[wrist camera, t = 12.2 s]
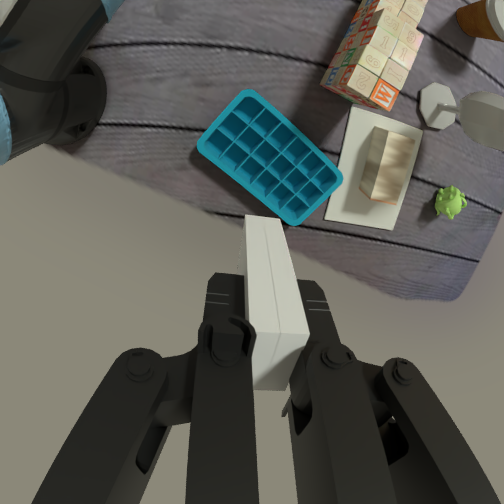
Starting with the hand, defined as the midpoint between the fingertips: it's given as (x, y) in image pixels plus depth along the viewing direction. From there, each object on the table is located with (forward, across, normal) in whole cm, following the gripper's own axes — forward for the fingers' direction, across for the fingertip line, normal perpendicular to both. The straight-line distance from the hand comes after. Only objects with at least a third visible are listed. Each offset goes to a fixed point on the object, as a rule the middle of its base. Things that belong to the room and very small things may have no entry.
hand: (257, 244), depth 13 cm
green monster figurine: (+33, +38, -3) cm, 50 cm away
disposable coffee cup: (+33, +36, +34) cm, 59 cm away
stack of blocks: (+33, +15, +19) cm, 41 cm away
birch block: (+30, +22, -6) cm, 37 cm away
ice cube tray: (+33, +4, -3) cm, 33 cm away
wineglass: (+33, +31, +13) cm, 47 cm away
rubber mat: (+32, +22, -2) cm, 39 cm away
